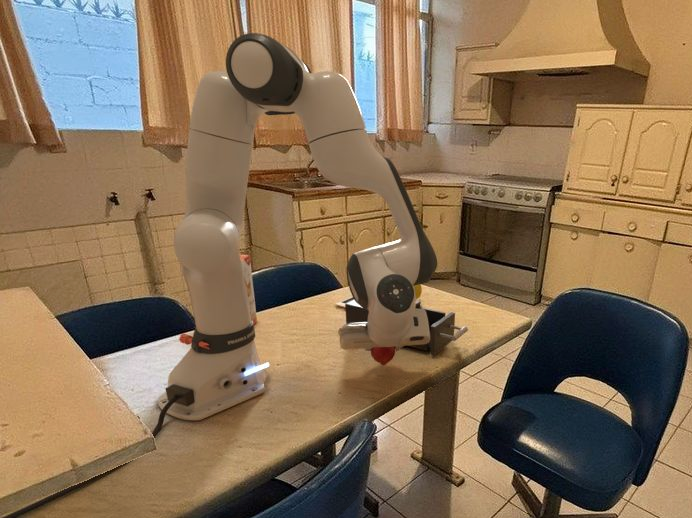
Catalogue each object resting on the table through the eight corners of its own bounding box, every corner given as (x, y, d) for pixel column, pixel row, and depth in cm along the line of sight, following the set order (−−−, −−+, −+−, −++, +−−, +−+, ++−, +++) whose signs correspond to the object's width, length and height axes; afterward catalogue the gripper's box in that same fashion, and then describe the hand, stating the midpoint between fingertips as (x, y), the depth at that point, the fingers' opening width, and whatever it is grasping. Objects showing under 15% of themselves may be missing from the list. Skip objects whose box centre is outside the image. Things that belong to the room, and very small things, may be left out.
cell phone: (335, 305, 150) (335, 303, 149) (366, 292, 162) (366, 290, 162) (353, 310, 146) (353, 308, 145) (383, 296, 158) (383, 294, 158)
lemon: (424, 301, 155) (425, 278, 152) (413, 305, 151) (413, 282, 148) (413, 297, 159) (413, 275, 156) (401, 300, 155) (401, 278, 152)
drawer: (470, 343, 122) (471, 316, 119) (451, 360, 113) (452, 331, 110) (406, 327, 132) (406, 302, 129) (383, 341, 123) (383, 314, 120)
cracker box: (241, 341, 123) (230, 267, 116) (219, 341, 123) (206, 267, 116) (259, 321, 136) (250, 253, 129) (239, 321, 136) (229, 253, 129)
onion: (366, 367, 108) (365, 336, 105) (378, 357, 113) (378, 327, 110) (388, 372, 106) (387, 341, 103) (399, 362, 111) (399, 332, 108)
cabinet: (420, 332, 131) (420, 301, 127) (396, 349, 120) (395, 315, 117) (372, 320, 138) (372, 291, 135) (346, 335, 128) (345, 303, 125)
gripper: (338, 341, 93) (339, 362, 105) (436, 336, 97) (425, 356, 109) (337, 313, 95) (338, 337, 108) (432, 309, 99) (422, 332, 111)
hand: (382, 346), depth 108 cm, fingers closed on onion, 6 cm apart
